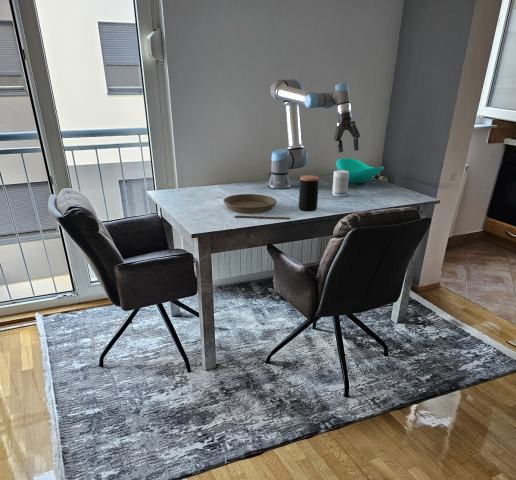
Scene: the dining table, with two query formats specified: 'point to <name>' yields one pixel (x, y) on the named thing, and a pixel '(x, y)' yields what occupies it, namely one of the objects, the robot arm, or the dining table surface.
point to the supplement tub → (340, 183)
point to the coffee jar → (308, 193)
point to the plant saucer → (249, 203)
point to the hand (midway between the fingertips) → (348, 151)
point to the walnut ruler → (261, 217)
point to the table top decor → (357, 170)
